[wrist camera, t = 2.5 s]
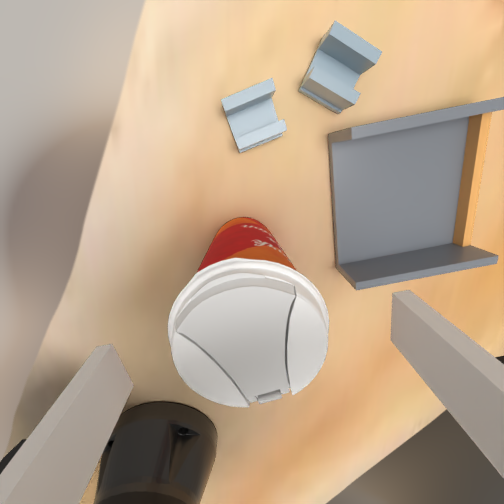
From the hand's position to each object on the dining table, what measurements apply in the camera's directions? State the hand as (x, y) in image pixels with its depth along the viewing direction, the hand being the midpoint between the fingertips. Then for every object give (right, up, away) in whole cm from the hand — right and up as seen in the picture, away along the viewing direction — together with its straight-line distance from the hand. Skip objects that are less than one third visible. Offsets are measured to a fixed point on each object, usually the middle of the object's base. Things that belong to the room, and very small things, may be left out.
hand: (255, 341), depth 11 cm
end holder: (+14, +10, +13) cm, 21 cm away
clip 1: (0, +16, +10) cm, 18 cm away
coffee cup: (-1, +5, +14) cm, 15 cm away
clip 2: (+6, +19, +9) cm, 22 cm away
